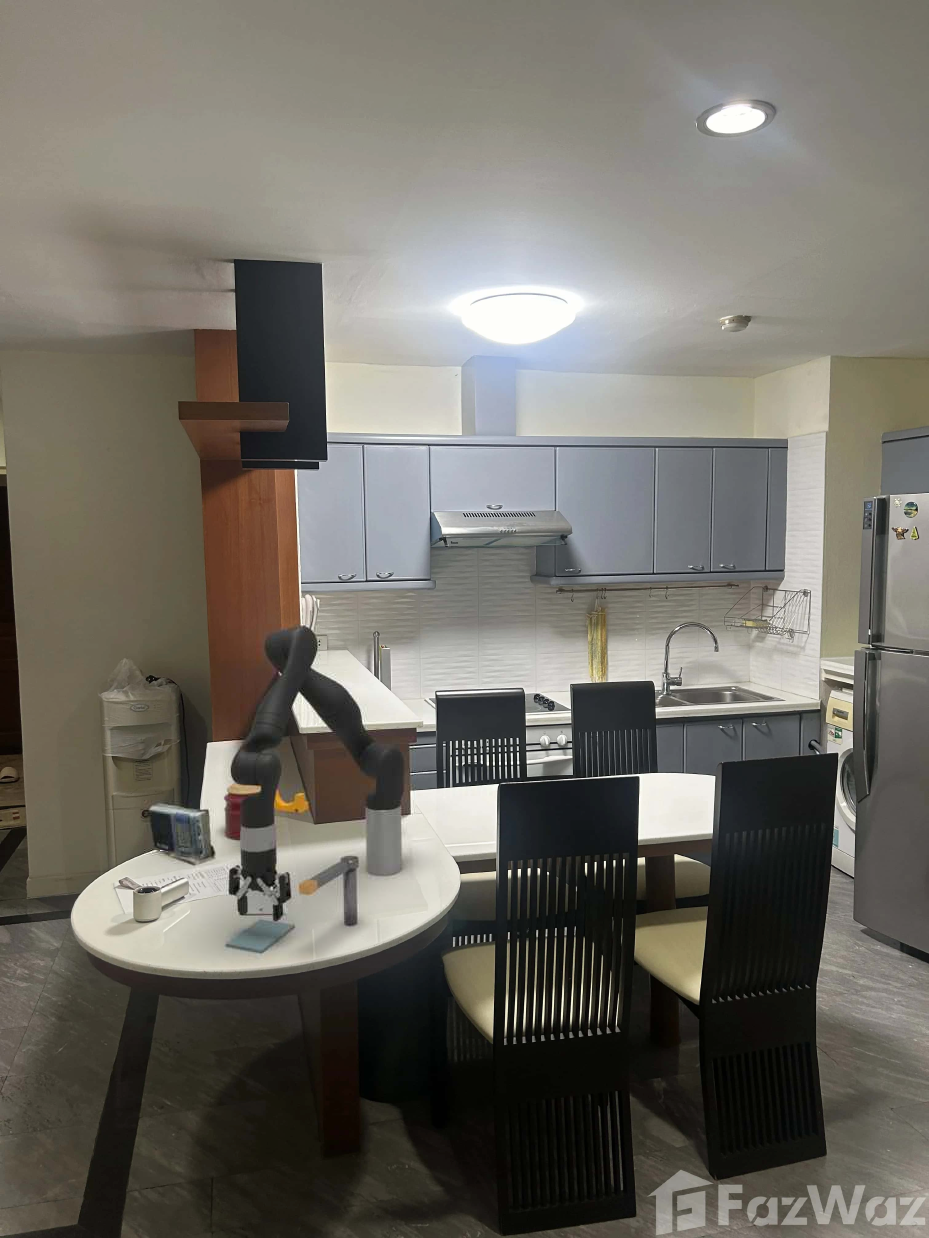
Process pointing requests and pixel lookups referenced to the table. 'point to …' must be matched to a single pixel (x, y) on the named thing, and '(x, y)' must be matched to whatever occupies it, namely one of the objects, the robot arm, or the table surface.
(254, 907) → the white angled block
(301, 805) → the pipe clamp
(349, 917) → the post
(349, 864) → the grey and orange bar
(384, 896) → the table surface
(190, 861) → the radio
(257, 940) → the slate mat
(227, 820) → the canister
